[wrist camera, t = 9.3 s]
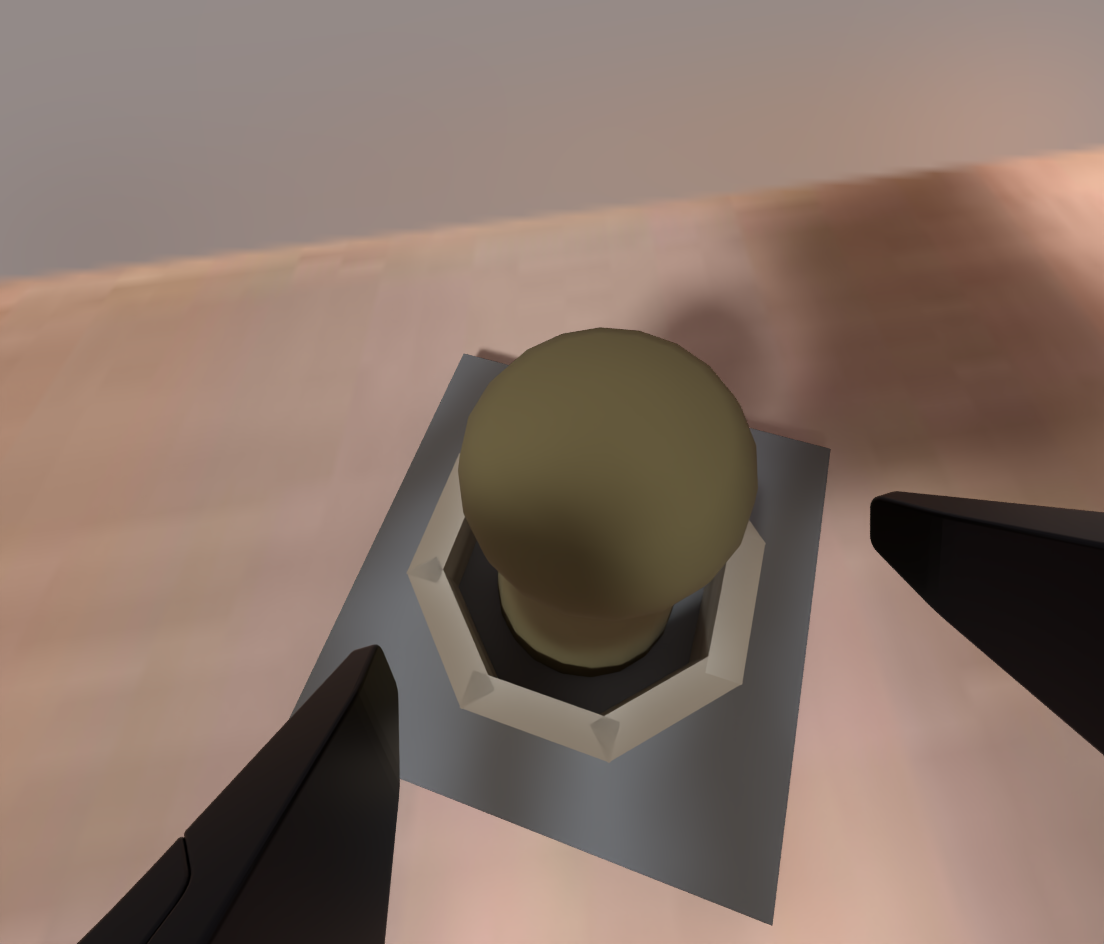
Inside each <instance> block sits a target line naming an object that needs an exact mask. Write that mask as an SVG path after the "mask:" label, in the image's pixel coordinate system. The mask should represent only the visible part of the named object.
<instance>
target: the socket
mask: <svg viewBox="0 0 1104 944" xmlns="http://www.w3.org/2000/svg"><path fill="white" fill-rule="evenodd" d="M508 366H509V365H506V364H502V363H498V362H495V361H491V360H487V359H483V358H479V357H475V356H472V355H468V354H463V356H462V358H461V360H460V362H459V365H458V367H457V369H456V371H455V373H454V375H453V377H452V379H451V381H450V383H449V386H448V388H447V390H446V392H445V394H444V396H443V398H442V400H441V402H440V404H439V406H438V409H437V411H436V413H435V415H434V417H433V419H432V421H431V423H430V425H429V427H428V429H427V432H426V434H425V436H424V438H423V440H422V442H421V444H420V446H419V448H418V450H417V453H416V455H415V457H414V459H413V461H412V463H411V465H410V467H409V469H408V471H407V473H406V476H405V478H404V480H403V482H402V484H401V486H400V488H399V490H398V492H397V494H396V496H395V499H394V501H393V503H392V505H391V507H390V509H389V511H388V513H387V515H386V517H385V519H384V522H383V524H382V526H381V528H380V530H379V532H378V534H377V536H376V538H375V540H374V543H373V545H372V547H371V549H370V551H369V553H368V555H367V557H366V559H365V561H364V563H363V566H362V568H361V570H360V572H359V574H358V576H357V578H356V580H355V582H354V584H353V586H352V589H351V591H350V593H349V595H348V597H347V599H346V601H345V603H344V605H343V607H342V609H341V612H340V614H339V616H338V618H337V620H336V622H335V624H334V626H333V628H332V630H331V633H330V635H329V637H328V639H327V641H326V643H325V645H324V647H323V649H322V651H321V653H320V656H319V658H318V660H317V662H316V664H315V666H314V668H313V670H312V672H311V674H310V676H309V679H308V681H307V683H306V685H305V687H304V689H303V691H302V693H301V695H300V697H299V700H298V702H297V704H296V706H295V708H294V710H293V712H292V714H291V716H290V718H291V717H292V716H293V715H294V714H295V713H296V711H297V710H298V709H299V708H300V707H301V706H302V705H303V704H304V703H305V702H306V701H307V700H308V699H309V697H310V696H311V695H312V694H313V693H314V692H315V691H316V690H317V689H318V688H319V687H320V686H321V685H322V683H323V682H324V681H325V680H326V679H327V678H328V677H329V676H330V675H331V674H332V673H333V672H334V670H335V669H336V668H337V667H338V666H339V665H340V664H341V663H342V662H343V661H344V660H345V659H346V658H347V656H348V655H349V654H350V653H351V652H352V651H354V650H356V649H359V648H363V647H366V646H370V645H373V644H377V645H379V646H380V647H381V648H382V650H383V652H384V654H385V657H386V659H387V662H388V664H389V666H390V669H391V671H392V674H393V676H394V679H395V681H396V684H397V689H398V697H399V754H400V779H402V780H405V781H408V782H410V783H413V784H415V785H418V786H420V787H423V788H425V789H428V790H430V791H433V792H435V793H438V794H440V795H443V796H445V797H448V798H450V799H453V800H456V801H458V802H461V803H463V804H466V805H468V806H471V807H473V808H476V809H478V810H481V811H483V812H486V813H488V814H491V815H493V816H496V817H499V818H501V819H504V820H506V821H509V822H511V823H514V824H516V825H519V826H521V827H524V828H526V829H529V830H531V831H534V832H536V833H539V834H542V835H544V836H547V837H549V838H552V839H554V840H557V841H559V842H562V843H564V844H567V845H569V846H572V847H574V848H577V849H579V850H582V851H585V852H587V853H590V854H592V855H595V856H597V857H600V858H602V859H605V860H607V861H610V862H612V863H615V864H617V865H620V866H622V867H625V868H627V869H630V870H633V871H635V872H638V873H640V874H643V875H645V876H648V877H650V878H653V879H655V880H658V881H660V882H663V883H665V884H668V885H670V886H673V887H676V888H678V889H681V890H683V891H686V892H688V893H691V894H693V895H696V896H698V897H701V898H703V899H706V900H708V901H711V902H713V903H716V904H719V905H721V906H724V907H726V908H729V909H731V910H734V911H736V912H739V913H741V914H744V915H746V916H749V917H751V918H754V919H756V920H759V921H762V922H764V923H767V924H769V925H772V924H773V916H774V908H775V899H776V891H777V883H778V875H779V867H780V858H781V850H782V842H783V834H784V826H785V817H786V809H787V801H788V793H789V785H790V776H791V768H792V760H793V752H794V744H795V736H796V727H797V719H798V711H799V703H800V695H801V686H802V678H803V670H804V662H805V654H806V645H807V637H808V629H809V621H810V613H811V604H812V596H813V588H814V580H815V572H816V564H817V555H818V547H819V539H820V531H821V523H822V514H823V506H824V498H825V490H826V482H827V473H828V465H829V457H830V449H829V448H825V447H821V446H817V445H813V444H810V443H806V442H802V441H798V440H794V439H790V438H787V437H783V436H779V435H775V434H771V433H767V432H764V431H760V430H756V429H752V428H750V431H751V433H752V436H753V438H754V441H755V443H756V450H757V476H758V490H757V495H756V500H755V504H754V507H753V510H752V513H751V516H750V519H749V522H748V525H747V528H746V531H745V534H744V537H743V540H742V543H741V545H740V546H739V548H738V549H737V550H736V551H735V552H734V554H733V555H732V556H731V557H730V559H729V560H728V561H727V562H726V563H725V565H724V566H723V567H722V568H721V570H720V571H719V572H718V573H717V574H716V576H715V577H714V578H713V579H712V581H710V582H709V583H708V584H707V585H705V586H704V587H703V588H701V589H700V590H698V591H696V592H695V593H693V594H691V595H690V596H688V597H686V598H684V599H683V600H681V601H679V602H678V603H676V604H674V606H673V609H672V612H671V614H670V617H669V620H668V622H667V625H666V628H665V630H664V633H663V635H662V636H661V637H660V639H659V640H658V641H657V642H656V643H655V645H654V646H653V647H652V648H651V649H650V651H649V652H648V653H647V654H646V656H645V657H643V658H641V659H640V660H638V661H636V662H635V663H633V664H631V665H630V666H628V667H626V668H625V669H623V670H621V671H620V672H615V673H610V674H605V675H600V676H595V677H584V676H577V675H570V674H562V673H560V672H558V671H556V670H554V669H552V668H550V667H548V666H546V665H544V664H542V663H540V662H538V661H536V660H534V659H533V658H532V657H531V656H530V655H529V654H528V653H527V652H526V651H525V650H524V649H523V648H522V647H521V645H520V644H519V643H518V642H517V641H516V640H515V639H514V638H513V636H512V634H511V632H510V630H509V628H508V626H507V624H506V622H505V620H504V617H503V615H502V613H501V607H500V600H499V593H498V586H497V585H498V571H497V570H496V569H495V568H494V567H493V566H492V565H491V564H490V563H489V562H488V560H487V558H486V557H485V555H484V553H483V551H482V549H481V547H480V545H479V543H478V541H477V539H476V537H475V535H474V533H473V531H472V529H471V528H470V526H469V524H468V522H467V520H466V518H465V516H464V514H463V507H462V500H461V492H460V484H459V476H458V465H459V457H460V452H461V448H462V443H463V439H464V434H465V430H466V425H467V421H468V417H469V415H470V413H471V412H472V410H473V408H474V407H475V405H476V404H477V402H478V400H479V399H480V397H481V395H482V394H483V392H484V391H485V389H486V387H487V386H488V384H489V382H491V381H492V380H493V379H494V378H495V377H496V376H497V375H499V374H500V373H501V372H502V371H503V370H504V369H506V368H507V367H508ZM290 718H289V719H290Z"/></svg>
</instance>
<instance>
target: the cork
mask: <svg viewBox="0 0 1104 944" xmlns="http://www.w3.org/2000/svg"><path fill="white" fill-rule="evenodd" d="M458 476H459V484H460V492H461V500H462V507H463V514H464V516H465V518H466V520H467V522H468V524H469V526H470V528H471V529H472V531H473V533H474V535H475V537H476V539H477V541H478V543H479V545H480V547H481V549H482V551H483V553H484V555H485V557H486V558H487V560H488V562H489V563H490V564H491V565H492V566H493V567H494V568H495V569H496V570H497V571H498V585H497V586H498V593H499V600H500V607H501V613H502V615H503V617H504V620H505V622H506V624H507V626H508V628H509V630H510V632H511V634H512V636H513V638H514V639H515V640H516V641H517V642H518V643H519V644H520V645H521V647H522V648H523V649H524V650H525V651H526V652H527V653H528V654H529V655H530V656H531V657H532V658H533V659H534V660H536V661H538V662H540V663H542V664H544V665H546V666H548V667H550V668H552V669H554V670H556V671H558V672H560V673H562V674H570V675H577V676H584V677H595V676H600V675H605V674H610V673H615V672H620V671H621V670H623V669H625V668H626V667H628V666H630V665H631V664H633V663H635V662H636V661H638V660H640V659H641V658H643V657H645V656H646V654H647V653H648V652H649V651H650V649H651V648H652V647H653V646H654V645H655V643H656V642H657V641H658V640H659V639H660V637H661V636H662V635H663V633H664V630H665V628H666V625H667V622H668V620H669V617H670V614H671V612H672V609H673V606H674V604H676V603H678V602H679V601H681V600H683V599H684V598H686V597H688V596H690V595H691V594H693V593H695V592H696V591H698V590H700V589H701V588H703V587H704V586H705V585H707V584H708V583H709V582H710V581H712V579H713V578H714V577H715V576H716V574H717V573H718V572H719V571H720V570H721V568H722V567H723V566H724V565H725V563H726V562H727V561H728V560H729V559H730V557H731V556H732V555H733V554H734V552H735V551H736V550H737V549H738V548H739V546H740V545H741V543H742V540H743V537H744V534H745V531H746V528H747V525H748V522H749V519H750V516H751V513H752V510H753V507H754V504H755V500H756V495H757V490H758V476H757V450H756V443H755V441H754V438H753V436H752V433H751V431H750V428H749V426H748V423H747V421H746V418H745V416H744V413H743V411H742V408H741V406H740V404H739V403H738V401H737V400H736V398H735V397H734V395H733V394H732V393H731V392H730V390H729V389H728V388H727V387H726V386H725V384H724V383H723V382H722V381H721V380H720V378H719V377H718V376H717V375H716V373H715V372H714V371H713V370H712V369H711V367H710V366H709V365H707V364H706V363H704V362H703V361H701V360H700V359H698V358H697V357H695V356H694V355H692V354H691V353H689V352H688V351H687V350H685V349H684V348H682V347H681V346H679V345H678V344H676V343H673V342H670V341H667V340H664V339H661V338H658V337H656V336H653V335H650V334H647V333H644V332H641V331H635V330H624V329H612V328H594V329H588V330H582V331H576V332H570V333H564V334H561V335H559V336H556V337H554V338H552V339H550V340H548V341H545V342H543V343H541V344H539V345H537V346H534V347H532V348H530V349H528V350H526V351H525V352H524V353H523V354H522V355H521V356H519V357H518V358H517V359H516V360H515V361H514V362H513V363H511V364H510V365H509V366H508V367H507V368H506V369H504V370H503V371H502V372H501V373H500V374H499V375H497V376H496V377H495V378H494V379H493V380H492V381H491V382H489V384H488V386H487V387H486V389H485V391H484V392H483V394H482V395H481V397H480V399H479V400H478V402H477V404H476V405H475V407H474V408H473V410H472V412H471V413H470V415H469V417H468V421H467V425H466V430H465V434H464V439H463V443H462V448H461V452H460V457H459V465H458Z"/></svg>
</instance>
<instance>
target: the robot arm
mask: <svg viewBox="0 0 1104 944" xmlns="http://www.w3.org/2000/svg"><path fill="white" fill-rule="evenodd" d="M870 539H871V543H872V545H873V547H874V548H875V550H876V551H877V552H878V553H879V554H880V555H881V556H882V557H883V558H884V559H885V560H886V561H887V562H888V564H889V565H890V566H891V567H892V568H893V569H894V570H895V571H896V572H897V573H898V574H899V575H900V576H901V577H902V578H903V579H904V580H905V581H906V582H907V583H908V584H909V585H910V586H911V587H912V588H913V589H914V590H915V591H916V592H917V593H918V594H919V595H920V596H921V597H922V598H923V599H924V600H925V601H926V602H927V603H928V604H929V605H930V606H931V607H932V608H933V609H934V610H935V611H936V612H937V613H938V614H939V615H940V616H941V617H942V618H944V619H945V620H946V621H947V622H948V623H949V624H950V625H952V626H953V627H954V628H955V629H956V630H957V631H959V632H960V633H961V634H962V635H963V636H964V637H966V638H967V639H968V640H969V641H970V642H971V643H973V644H974V645H975V646H976V647H977V648H979V649H980V650H981V651H982V652H983V653H984V654H986V655H987V656H988V657H989V658H990V659H991V660H993V661H994V662H995V663H996V664H997V665H998V666H1000V667H1001V668H1002V669H1003V670H1004V671H1005V672H1007V673H1008V674H1009V675H1010V676H1011V677H1013V678H1014V679H1015V680H1016V681H1017V682H1018V683H1020V684H1021V685H1022V686H1023V687H1024V688H1025V689H1027V690H1028V691H1029V692H1030V693H1031V694H1032V695H1034V696H1035V697H1036V698H1037V699H1038V700H1039V701H1041V702H1042V703H1043V704H1044V705H1045V706H1047V707H1048V708H1049V709H1050V710H1051V711H1052V712H1054V713H1055V714H1056V715H1057V716H1058V717H1059V718H1061V719H1062V720H1063V721H1064V722H1065V723H1066V724H1068V725H1069V726H1070V727H1071V728H1072V729H1073V730H1075V731H1076V732H1077V733H1078V734H1079V735H1081V736H1082V737H1083V738H1084V739H1085V740H1086V741H1088V742H1089V743H1090V744H1091V745H1092V746H1093V747H1095V748H1096V749H1097V750H1098V751H1099V752H1100V753H1102V754H1103V755H1104V512H1094V511H1085V510H1075V509H1065V508H1055V507H1046V506H1036V505H1026V504H1016V503H1007V502H997V501H987V500H977V499H968V498H958V497H948V496H938V495H929V494H919V493H909V492H899V491H895V492H890V493H887V494H884V495H880V496H877V497H875V498H874V499H873V500H872V502H871V505H870ZM399 787H400V754H399V697H398V689H397V684H396V681H395V679H394V676H393V674H392V671H391V669H390V666H389V664H388V662H387V659H386V657H385V654H384V652H383V650H382V648H381V647H380V646H379V645H377V644H373V645H370V646H366V647H363V648H359V649H356V650H354V651H352V652H351V653H350V654H349V655H348V656H347V658H346V659H345V660H344V661H343V662H342V663H341V664H340V665H339V666H338V667H337V668H336V669H335V670H334V672H333V673H332V674H331V675H330V676H329V677H328V678H327V679H326V680H325V681H324V682H323V683H322V685H321V686H320V687H319V688H318V689H317V690H316V691H315V692H314V693H313V694H312V695H311V696H310V697H309V699H308V700H307V701H306V702H305V703H304V704H303V705H302V706H301V707H300V708H299V709H298V710H297V711H296V713H295V714H294V715H293V716H292V717H291V718H290V719H289V720H288V721H287V722H286V723H285V724H284V725H283V727H282V728H281V729H280V730H279V731H278V732H277V733H276V734H275V735H274V736H273V737H272V738H271V739H270V741H269V742H268V743H267V744H266V745H265V746H264V747H263V748H262V749H261V750H260V751H259V752H258V753H257V755H256V756H255V757H254V758H253V759H252V760H251V761H250V762H249V763H248V764H247V765H246V766H245V767H244V768H243V770H242V771H241V772H240V773H239V774H238V775H237V776H236V777H235V778H234V779H233V780H232V781H231V782H230V784H229V785H228V786H227V787H226V788H225V789H224V790H223V791H222V792H221V793H220V794H219V795H218V796H217V798H216V799H215V800H214V801H213V802H212V803H211V804H210V805H209V806H208V807H207V808H206V809H205V810H204V812H203V813H202V814H201V815H200V816H199V817H198V818H197V819H196V820H195V821H194V822H193V823H192V824H191V826H190V827H189V828H188V829H187V830H186V831H185V833H184V837H180V838H178V839H177V840H176V841H175V843H174V844H173V845H172V846H171V847H170V848H169V849H168V850H167V851H166V852H165V853H164V855H163V856H162V857H161V858H160V859H159V860H158V861H157V862H156V863H155V864H154V865H153V866H152V867H151V868H150V870H149V871H148V872H147V873H146V874H145V875H144V876H143V877H142V878H141V879H140V880H139V881H138V882H137V883H136V884H135V885H134V886H133V887H132V888H131V889H130V890H129V892H128V893H127V894H126V895H125V896H124V897H123V898H122V899H121V900H120V901H119V902H118V903H117V904H116V905H115V906H114V907H113V908H112V909H111V910H110V911H109V912H108V913H107V914H106V915H105V916H104V917H103V918H102V919H101V920H100V921H99V922H98V923H97V924H96V925H95V926H94V927H93V928H92V929H91V930H90V931H89V932H88V933H87V934H86V935H85V936H84V937H83V938H82V939H81V940H80V941H79V942H78V943H77V944H385V935H386V925H387V914H388V904H389V894H390V884H391V873H392V863H393V853H394V843H395V832H396V822H397V812H398V801H399Z"/></svg>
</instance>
